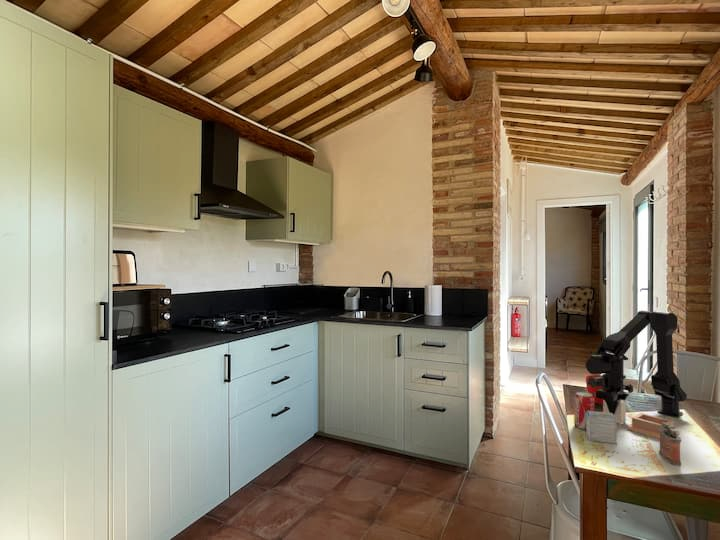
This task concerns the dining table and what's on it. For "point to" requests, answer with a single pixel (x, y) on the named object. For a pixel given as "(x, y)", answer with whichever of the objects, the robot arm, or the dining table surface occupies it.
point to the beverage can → (582, 408)
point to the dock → (649, 424)
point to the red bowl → (594, 389)
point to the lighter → (669, 445)
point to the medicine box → (601, 426)
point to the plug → (618, 411)
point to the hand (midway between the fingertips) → (614, 413)
